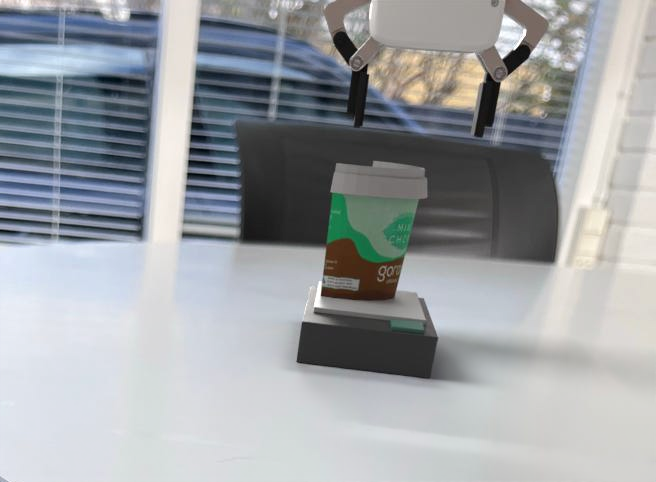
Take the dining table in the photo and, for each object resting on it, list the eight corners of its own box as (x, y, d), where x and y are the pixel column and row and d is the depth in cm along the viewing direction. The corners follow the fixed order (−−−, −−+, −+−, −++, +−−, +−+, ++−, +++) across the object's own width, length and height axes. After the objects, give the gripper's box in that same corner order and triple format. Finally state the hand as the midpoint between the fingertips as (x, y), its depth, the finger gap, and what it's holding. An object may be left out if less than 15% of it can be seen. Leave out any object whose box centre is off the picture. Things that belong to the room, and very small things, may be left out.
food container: (389, 310, 83) (413, 172, 79) (314, 298, 85) (334, 163, 81) (423, 291, 93) (446, 168, 89) (355, 281, 95) (375, 160, 91)
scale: (417, 332, 94) (424, 293, 93) (430, 378, 79) (439, 331, 77) (306, 319, 95) (311, 280, 94) (296, 362, 80) (302, 315, 78)
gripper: (567, -108, 81) (518, 139, 89) (340, -121, 82) (312, 122, 90) (586, -126, 74) (531, 143, 82) (339, -140, 76) (309, 124, 84)
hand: (416, 132), depth 86 cm, fingers open, 9 cm apart
